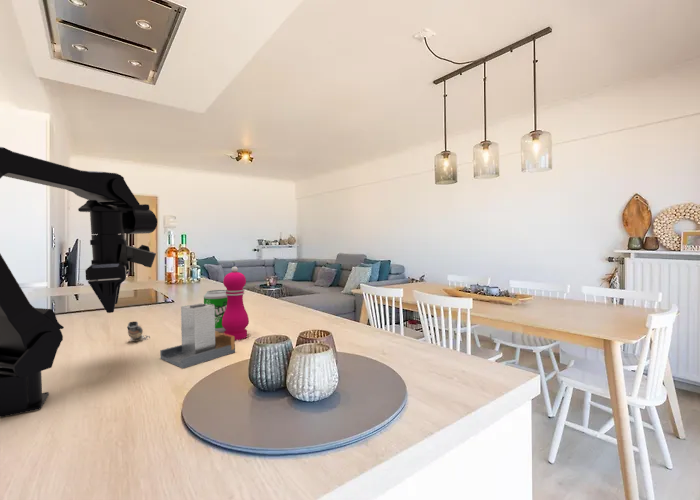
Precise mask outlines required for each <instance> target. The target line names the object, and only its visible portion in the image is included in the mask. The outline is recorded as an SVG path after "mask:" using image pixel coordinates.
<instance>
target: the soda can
mask: <svg viewBox="0 0 700 500" xmlns="http://www.w3.org/2000/svg"><path fill="white" fill-rule="evenodd" d="M226 290H227V289H213V290H212V289H211V290H208V291H206V293H205V294H204V295H203V304H207V305H212V306H215V331H218V332H221V333H224V332H225V331H226V329H225V328H224V327H223V326H222V318H223V315H224V313H225V310H226V307H227V295H226Z"/></svg>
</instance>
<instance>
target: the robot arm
mask: <svg viewBox="0 0 700 500" xmlns="http://www.w3.org/2000/svg"><path fill="white" fill-rule="evenodd" d="M3 177H6V178H9V179H10V178H11V179H16V180H20V181H25V182H29V183H34V184H39V185H43V186H48V187H52V188H58V189H62V190H67V192H68V191H69V192H72V193H73V194H75V195H76V196H78V197H79V198H82V199H84V200H86V202H85V203H84V204H83V205H81V206H80V207H78V209H77V210H78V212H80V213H89V219H90V220H89V221H90V235H91V236H90V237H91V239H90V240H89V243H90V246H91V249H92V250H91V253H92V254H91V255H92V259H91V260H90V262H91V263H90V264H91V265H89V266H88V267H87V268H86V269H85V280H86V281H87V283H88V285H89V286H90V288H91V289H92V290H93V292H94V294H95V295H96V297H97V298H98V300H99V302H100V304H101V305H102V306H103V307H102V308H104V310H105V311H106V313H107V314H111V313H114V312H115V307H116V305H117V304H118V302H119V296H120V290H121V284H122V283H123V282H124V281H126V279H127V275H128V274H129V272H130V269H131V267H130V263H134V264H138V265H142V266H143V267H146V268H152V266H153V263H154V261H155V258H156V256H157V255H156V254H157V253H156V252H154V251H150V250H151V249H150V246H148V245H145V244H141V245H139V247H136V246H130V245H128V240H127V239H126V237H125V234H126V235H133V234H134V235H137V234H152V233H153V232H154V231H155V230H156V229H157V227H158V218H157V216H156V214H155V213H154V211H152V210H151V209H150V205H149V204H146V203H144V204H143V203H142V204H140V202H139V201H138V199H137V197H136V196H135V194H134V193H133V191H132V190H131V189H130V187H129V186H128V184H127V181H126V180H125V177H124V176H123V175H121V174H119V173H117V172H109V171H108V172H107V171H93V170H81V169H77V168H74V167H70V166H67V165H62V164H59V163H55V162H52V161H49V160H44V159H41V158H37V157H35V156H30V155H27V154H23V153H19V152H16V151H12V150H11V149H8V148H6V147H3V146H0V179H2V178H3ZM63 329H64V326H63V325H62V324H60V323H59V321H58V319H57V316H56V313H55V311H54V310H53V309H52V308H42V307H41V308H40V307H34V306H33V305H32V304H31V303H30V301H29V298H27V296H26V294H25V293H24V290H23V289H22V287H21V286H20V284H19V283H18V281H17V279H16V277H15V276H14V274H13V272H12V271H11V269H10V267H9V266H8V264H7V262H6V261H5V259H4V257H3V255H2V254H1V253H0V418H3V417H8V416H14V415H17V414H23V413H29V412H33V411H37V410H41V408H42V407H43V405H44V404H45V402H46V401H47V399H48V398H49V395H50V392H49V391H46V392H43V382H42V381H43V380H42V378H43V376H42V371H45V370H49V369H52V367H53V364H54V361H55V358H56V355H57V352H58V349H59V348H60V346H61V343H62V342H63V341H64V335H63V333H62V330H63Z"/></svg>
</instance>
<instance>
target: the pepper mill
mask: <svg viewBox="0 0 700 500" xmlns="http://www.w3.org/2000/svg"><path fill="white" fill-rule="evenodd" d="M238 270H239V268H238V267H237V266H232V267H231V272H229V273H227V274H226V275H225V276H224V277H223V281H222V282H223V285H224V287H225V288H226V289H225V290H226V295H227V307H226V310H225V313H224V315H223V318H222V326H223V327H224V328H225V329H226V331H225V332H223V333H225V334H229V335H232V336H235V341H239V340H240V341H241V340H244V339H246V338H247V337H248V330H247V329H246V328H247V327H248V325H249V323H250V322H249V321H250V320H249V314H248V312H247V310H246V308H245V305H244V300H243V299H244V296H243V295H244V294H245V289H244V287H245V285H246V284H247V279H246V276H245V274H243V273H242V272H238Z"/></svg>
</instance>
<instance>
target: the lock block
mask: <svg viewBox="0 0 700 500" xmlns="http://www.w3.org/2000/svg"><path fill="white" fill-rule="evenodd" d="M180 316H181V317H180V320H181V321H180V322H181V345H182V353H185V354H187V355H190V356H191V355H195V354H198V353H202V352H205V351H209V350H212V349H215V306H212V305H207V304H204V303H203V302H200V303H199V302H198V303H193V304H189V305H182V306H180Z"/></svg>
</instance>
